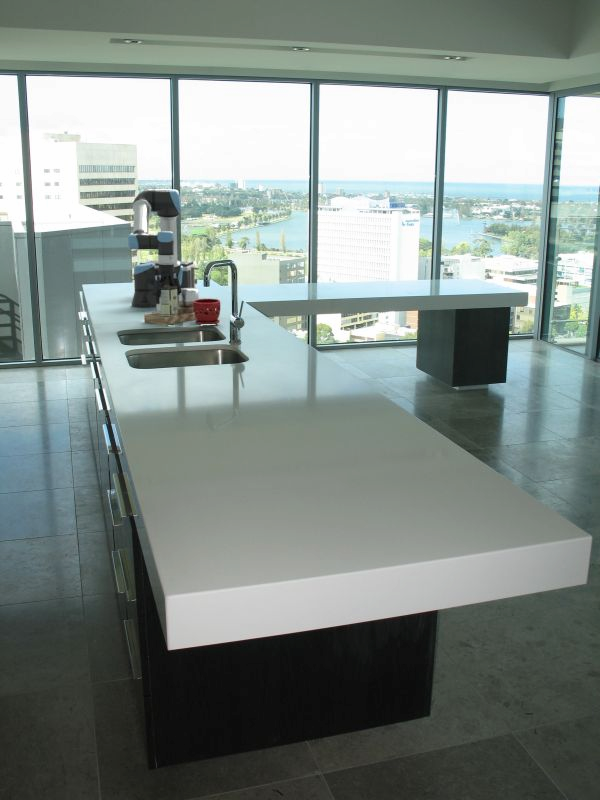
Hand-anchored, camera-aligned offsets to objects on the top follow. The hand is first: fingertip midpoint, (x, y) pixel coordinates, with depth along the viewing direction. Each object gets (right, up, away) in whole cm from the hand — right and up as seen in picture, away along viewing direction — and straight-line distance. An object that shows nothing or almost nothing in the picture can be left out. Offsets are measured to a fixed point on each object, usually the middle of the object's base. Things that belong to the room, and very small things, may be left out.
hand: (167, 309), depth 410 cm
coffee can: (0, -3, +1) cm, 3 cm away
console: (-4, -2, +17) cm, 18 cm away
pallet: (+4, -5, +7) cm, 10 cm away
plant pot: (+20, -8, -3) cm, 22 cm away
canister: (+9, -2, +12) cm, 16 cm away
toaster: (-12, +16, +87) cm, 89 cm away
